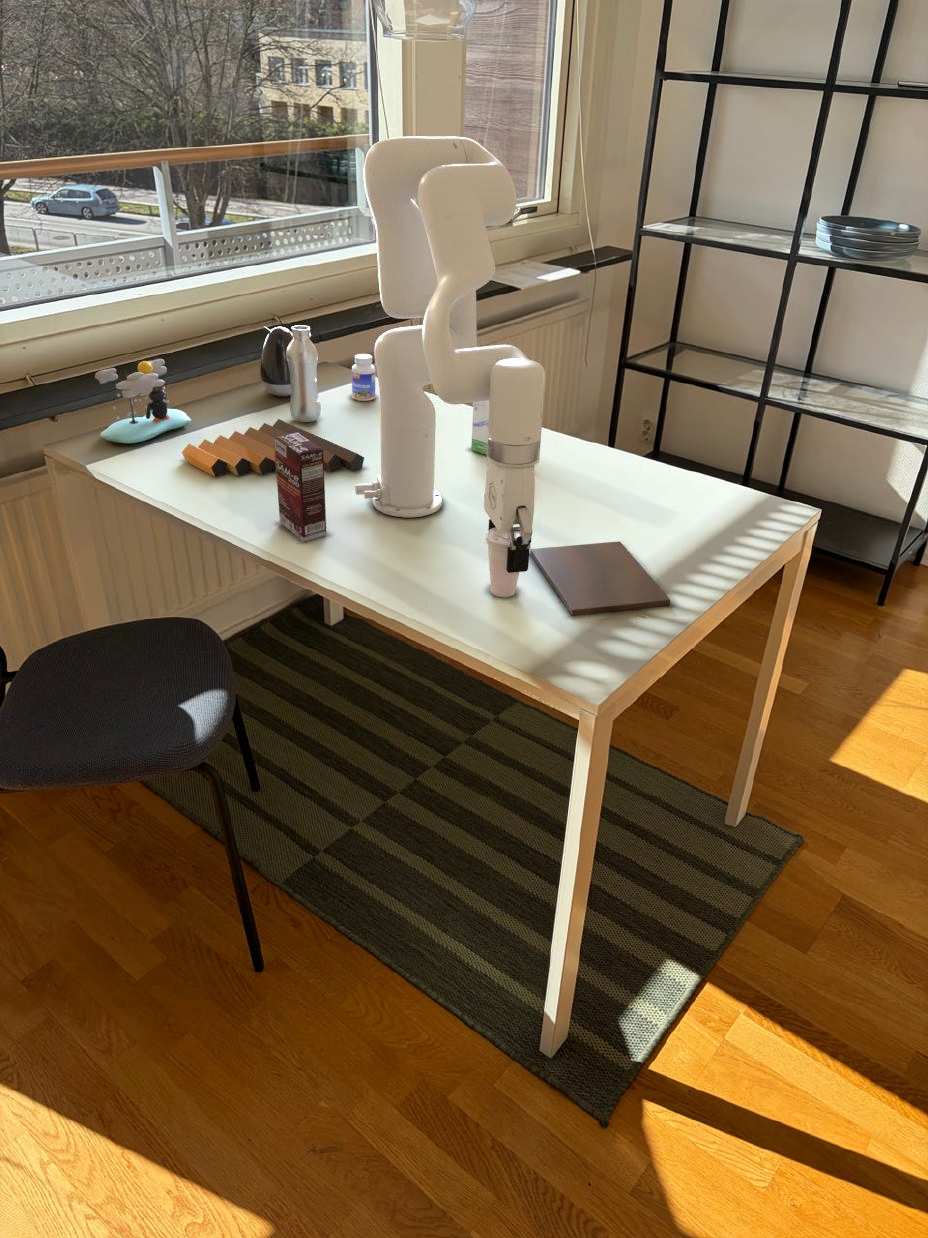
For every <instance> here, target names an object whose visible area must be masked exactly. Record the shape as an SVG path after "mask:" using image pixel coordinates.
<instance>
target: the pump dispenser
mask: <svg viewBox="0 0 928 1238" xmlns="http://www.w3.org/2000/svg"><path fill="white" fill-rule="evenodd" d="M261 331H262V332H263V333H264V334H265V335H266V338H265V341H264V344H263V348H262V352H261V357H260V366H259V379H260V381H261V382H262V385H263V388H265V390H266V391H267V392H268V393H270V394H271V395H273V396H276V397H291V378H290V371H289V366H288V361H287V356H286V351H287V348H288V346H289V344H290V343H291V341H292V340H293V337H292V331H290V330H289V329H288V328H286V327H283V326H277V327H274V328H271V329H269V328H268V327H266V326H263V327H262V328H261Z"/></svg>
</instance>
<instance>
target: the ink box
mask: <svg viewBox="0 0 928 1238" xmlns="http://www.w3.org/2000/svg"><path fill="white" fill-rule="evenodd" d="M488 421H489V400H487V401H480V402H473V403H472V424H471V425H472V426H471V443H470V445H471V446H470V450H471V451H472V452H476V453H480V454H483V455H485V456H487V445H488Z"/></svg>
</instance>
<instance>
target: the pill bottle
mask: <svg viewBox="0 0 928 1238" xmlns="http://www.w3.org/2000/svg"><path fill="white" fill-rule="evenodd" d="M354 363H355V364H353V365H352V366H351V397H352V399H354V400H356V401H360V402H369V401H372V400H374V399H375V398H376V366H375V365H373V364H372V363H373V355H371V354H368V353H358V354H356V355H354Z"/></svg>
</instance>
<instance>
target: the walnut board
mask: <svg viewBox="0 0 928 1238" xmlns="http://www.w3.org/2000/svg"><path fill="white" fill-rule="evenodd" d="M529 556H530V557H531V558H532V559H533V561H534V562H535V564H536V565H537V567H538V568H539V569H540V571H541V573H542V574H543V575H544V577H545V578H546V580H547V582H548V583H549V584H550V586H551V587H552V589H553V590H554V592H555V593H556V595H557V597H558V598H559V600H560V601H561V602H562V603H563V605H564V606H565V608H566V609H567V611H568V612H569V614H570V615H571V616H581V615H591V614H598V613H610V612H618V611H627V610H628V611H629V610H638V609H647V608H656V607H657V608H658V607H665V606H667V607H668V606H670V605H671V598H670V597H669V596H668V595H667V594H666V593H665V592H664V591H663V590H662V588H661V587H660V586H659V585H658V584H657V583H656V581H655V580H654V578H652V577H651V576H650V574H649V573H648V572H647V571H646V570H645V569H644V567H642V565H641V563H640V562H639V561H637V559H636V558H635V557H634V556H633V555H632V554H631V552H630V551H629V550H628V549H627V548H626V546H625V545H624V544H623V543H622V542H621V541H619V540H618V541H608V542H595V543H585V544H575V545H572V544H571V545H563V546H562V545H561V546H551V547H550V546H549V547H542V548H541V547H540V548H530V550H529Z"/></svg>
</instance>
